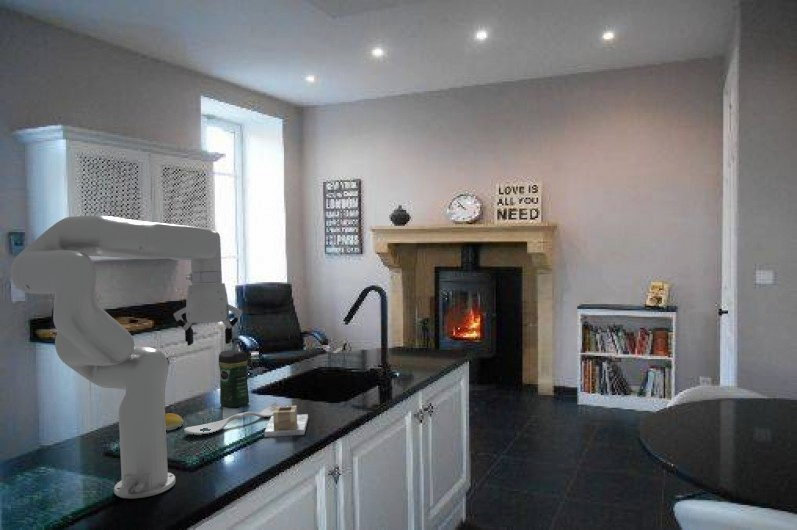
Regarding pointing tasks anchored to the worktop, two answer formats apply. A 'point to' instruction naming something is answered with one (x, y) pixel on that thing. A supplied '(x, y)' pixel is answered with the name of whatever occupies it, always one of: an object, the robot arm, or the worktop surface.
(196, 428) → the spoon
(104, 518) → the worktop surface
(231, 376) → the coffee jar
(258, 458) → the worktop surface
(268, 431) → the housing plate
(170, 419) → the bread roll
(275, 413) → the hollow wooden block
